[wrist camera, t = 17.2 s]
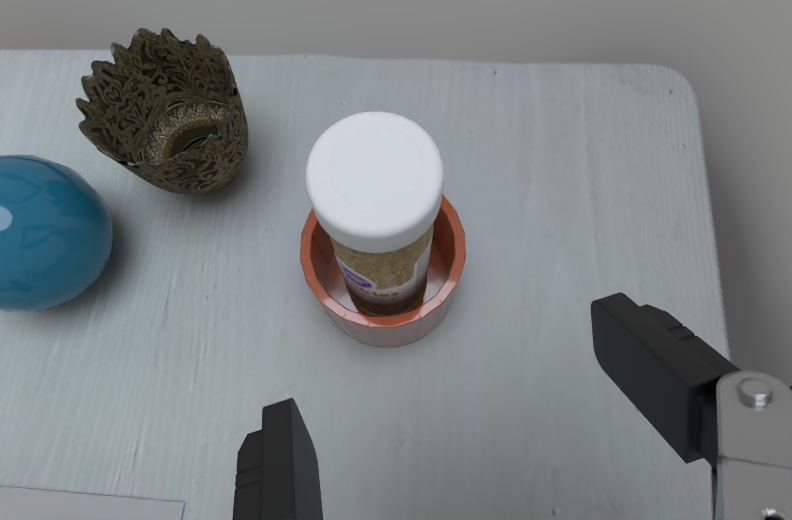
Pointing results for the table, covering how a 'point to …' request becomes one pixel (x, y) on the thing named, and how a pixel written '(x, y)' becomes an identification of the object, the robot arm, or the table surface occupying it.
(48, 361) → the table surface
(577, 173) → the table surface
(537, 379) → the table surface
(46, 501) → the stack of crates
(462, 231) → the pot
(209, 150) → the cup
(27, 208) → the ball
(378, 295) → the sprinkles bottle
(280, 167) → the table surface
